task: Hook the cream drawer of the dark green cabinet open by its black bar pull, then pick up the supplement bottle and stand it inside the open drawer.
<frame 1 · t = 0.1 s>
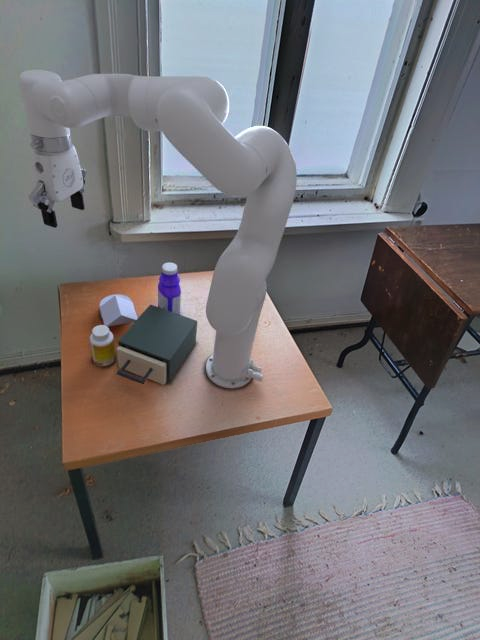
hand: (65, 216, 94), 31 cm above the table, tool pointing down, fingers open, 9 cm apart
cabinet: (159, 353, 108), on the table
supplement bottle: (104, 359, 105), on the table
bottle: (169, 315, 120), on the table
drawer: (150, 354, 102), point 4 cm above the table, slide at 0.5 cm
wedge on round base: (118, 318, 117), on the table
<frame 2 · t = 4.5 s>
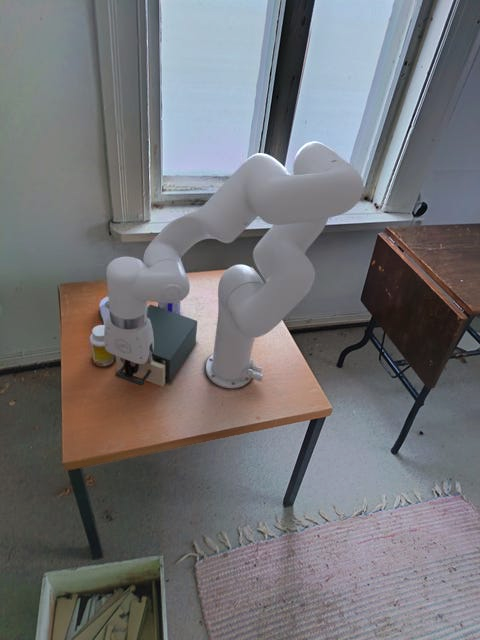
hand: (131, 371, 96), 6 cm above the table, tool pointing down, fingers closed
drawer: (149, 355, 102), point 4 cm above the table, slide at 1.2 cm, touching gripper
everything else where it was.
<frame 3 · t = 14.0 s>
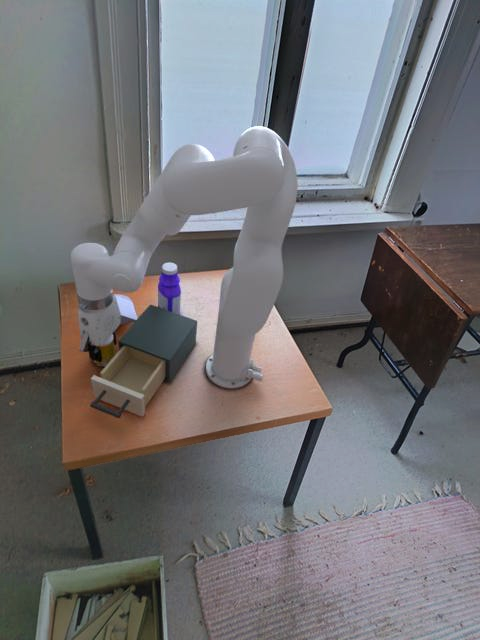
hand: (103, 350, 103), 3 cm above the table, tool pointing down, fingers closed on supplement bottle, 5 cm apart
supplement bottle: (104, 359, 105), on the table, touching gripper
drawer: (128, 382, 95), point 4 cm above the table, slide at 10.7 cm
everything else where it was.
when the fingers open (6 cm above the table, at t = 23.0 s): supplement bottle stays where it is, resting on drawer.
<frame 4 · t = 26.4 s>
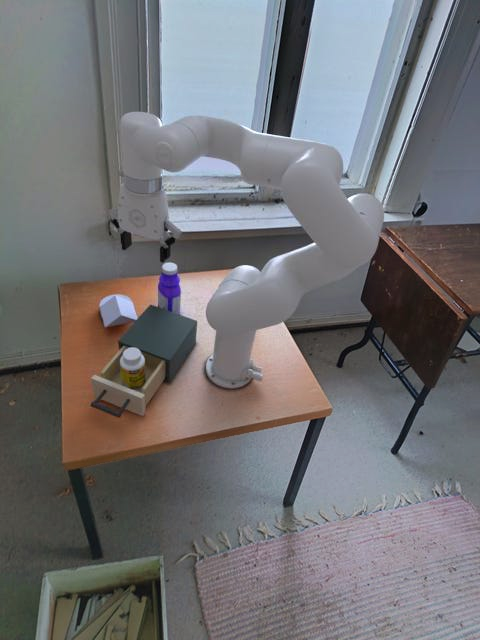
hand: (145, 253, 93), 28 cm above the table, tool pointing down, fingers open, 9 cm apart
supplement bottle: (133, 382, 98), point 2 cm above the table, touching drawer
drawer: (128, 382, 95), point 4 cm above the table, slide at 10.6 cm, touching supplement bottle
everything else where it was.
at the end: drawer slide at 10.6 cm; supplement bottle inside the target area in the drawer (0.3 cm from its centre), point 1.8 cm above the cabinet's base; the gripper is holding nothing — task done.
